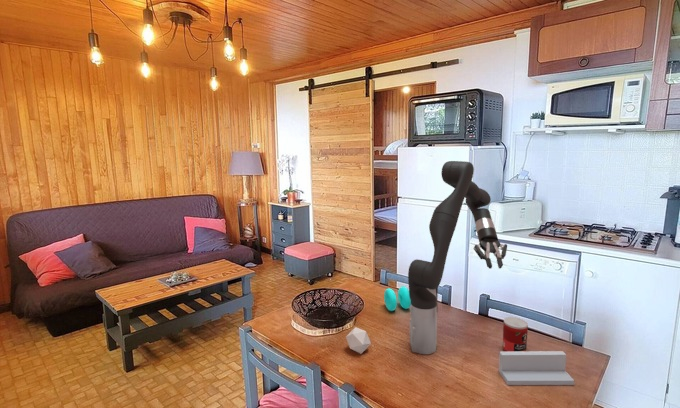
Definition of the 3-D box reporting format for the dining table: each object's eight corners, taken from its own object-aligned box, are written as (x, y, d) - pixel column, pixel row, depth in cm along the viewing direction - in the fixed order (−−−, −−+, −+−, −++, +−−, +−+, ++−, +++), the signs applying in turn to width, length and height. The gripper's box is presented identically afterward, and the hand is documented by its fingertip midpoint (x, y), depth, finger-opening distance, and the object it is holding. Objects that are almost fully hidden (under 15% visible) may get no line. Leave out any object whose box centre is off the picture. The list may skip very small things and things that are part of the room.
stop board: (507, 385, 112) (508, 364, 111) (498, 371, 119) (499, 351, 118) (574, 385, 111) (575, 364, 110) (561, 370, 118) (562, 351, 117)
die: (375, 351, 134) (369, 324, 138) (368, 351, 126) (361, 323, 131) (355, 356, 136) (349, 330, 140) (346, 357, 129) (341, 329, 133)
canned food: (517, 359, 125) (518, 329, 123) (497, 348, 132) (498, 319, 130) (531, 352, 128) (533, 323, 127) (511, 342, 135) (512, 314, 134)
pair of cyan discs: (383, 305, 169) (383, 285, 168) (403, 302, 172) (403, 282, 170) (391, 315, 160) (391, 293, 158) (412, 312, 162) (412, 291, 160)
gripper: (471, 226, 153) (480, 264, 143) (505, 226, 152) (516, 263, 142) (467, 235, 159) (475, 272, 149) (500, 235, 158) (510, 271, 149)
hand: (495, 267), depth 146 cm, fingers open, 3 cm apart
